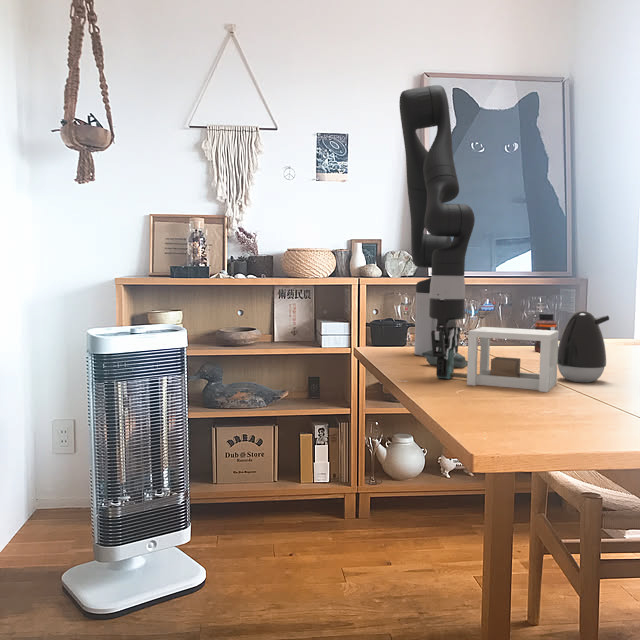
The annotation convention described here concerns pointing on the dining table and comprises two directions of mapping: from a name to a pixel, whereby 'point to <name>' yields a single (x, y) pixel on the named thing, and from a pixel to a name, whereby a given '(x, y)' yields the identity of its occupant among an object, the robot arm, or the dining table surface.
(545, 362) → the white open frame stand
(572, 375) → the pump dispenser
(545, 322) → the supplement bottle
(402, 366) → the dining table surface
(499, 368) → the tethered block
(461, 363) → the stone
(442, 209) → the robot arm
